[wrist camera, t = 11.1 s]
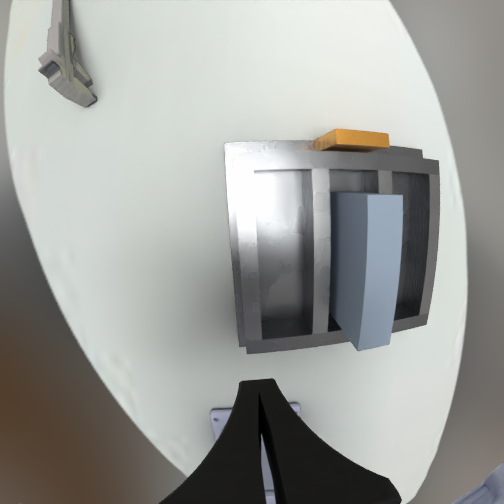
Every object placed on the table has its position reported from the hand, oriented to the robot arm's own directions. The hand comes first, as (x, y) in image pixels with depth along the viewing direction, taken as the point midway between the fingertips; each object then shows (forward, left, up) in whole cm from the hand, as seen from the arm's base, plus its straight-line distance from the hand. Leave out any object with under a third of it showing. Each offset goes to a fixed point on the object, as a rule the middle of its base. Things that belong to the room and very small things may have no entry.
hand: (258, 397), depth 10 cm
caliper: (+25, +14, -10) cm, 31 cm away
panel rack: (+4, -7, -9) cm, 12 cm away
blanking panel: (+4, -7, -9) cm, 12 cm away
